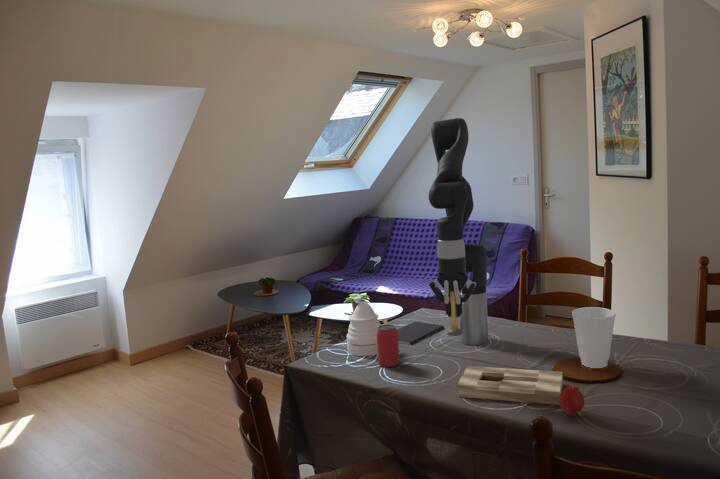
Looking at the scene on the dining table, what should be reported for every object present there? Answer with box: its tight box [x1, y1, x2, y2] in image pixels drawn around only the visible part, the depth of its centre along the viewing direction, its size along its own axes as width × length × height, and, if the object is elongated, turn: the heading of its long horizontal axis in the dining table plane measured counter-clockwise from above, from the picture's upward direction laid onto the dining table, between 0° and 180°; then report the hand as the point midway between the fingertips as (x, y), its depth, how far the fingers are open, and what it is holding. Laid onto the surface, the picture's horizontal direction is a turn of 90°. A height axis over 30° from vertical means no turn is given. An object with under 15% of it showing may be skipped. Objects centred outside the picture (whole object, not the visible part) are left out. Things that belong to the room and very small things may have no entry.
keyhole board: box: [456, 365, 564, 406], centre depth 165 cm, size 14×26×3 cm, turn 69°
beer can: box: [377, 324, 400, 368], centre depth 191 cm, size 7×7×12 cm
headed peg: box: [446, 291, 463, 337], centre depth 171 cm, size 4×4×13 cm
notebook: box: [396, 321, 445, 346], centre depth 221 cm, size 13×2×21 cm
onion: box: [559, 383, 585, 417], centre depth 148 cm, size 6×6×8 cm
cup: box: [571, 306, 616, 368], centre depth 178 cm, size 12×12×16 cm
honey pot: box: [346, 296, 382, 357], centre depth 206 cm, size 13×13×18 cm
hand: (454, 316), depth 171 cm, fingers closed on headed peg, 2 cm apart
